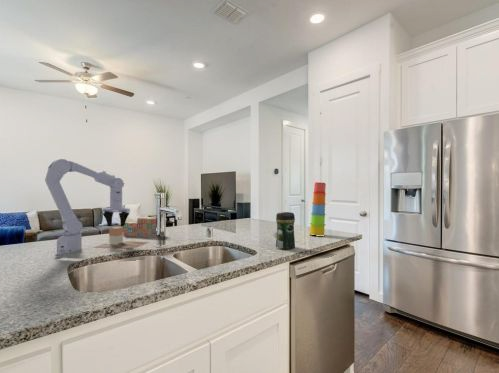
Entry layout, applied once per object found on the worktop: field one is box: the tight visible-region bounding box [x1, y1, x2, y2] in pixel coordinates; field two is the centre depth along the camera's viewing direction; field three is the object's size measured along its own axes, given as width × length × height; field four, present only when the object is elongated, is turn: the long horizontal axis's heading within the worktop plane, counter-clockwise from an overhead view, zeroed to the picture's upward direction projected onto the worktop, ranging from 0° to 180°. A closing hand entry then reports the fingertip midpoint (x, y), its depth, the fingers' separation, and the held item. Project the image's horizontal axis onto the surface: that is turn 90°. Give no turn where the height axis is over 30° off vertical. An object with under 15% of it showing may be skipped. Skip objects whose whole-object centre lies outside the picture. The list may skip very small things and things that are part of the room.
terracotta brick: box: [108, 226, 123, 236], centre depth 135 cm, size 5×5×4 cm
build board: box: [94, 240, 150, 250], centre depth 131 cm, size 15×21×1 cm
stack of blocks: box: [122, 216, 158, 238], centre depth 156 cm, size 21×6×12 cm, turn 84°
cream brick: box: [108, 235, 124, 244], centre depth 135 cm, size 5×5×4 cm
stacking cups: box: [309, 181, 327, 235], centre depth 165 cm, size 10×10×35 cm
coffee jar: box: [275, 211, 296, 250], centre depth 132 cm, size 10×8×19 cm
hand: (116, 225), depth 135 cm, fingers open, 7 cm apart
